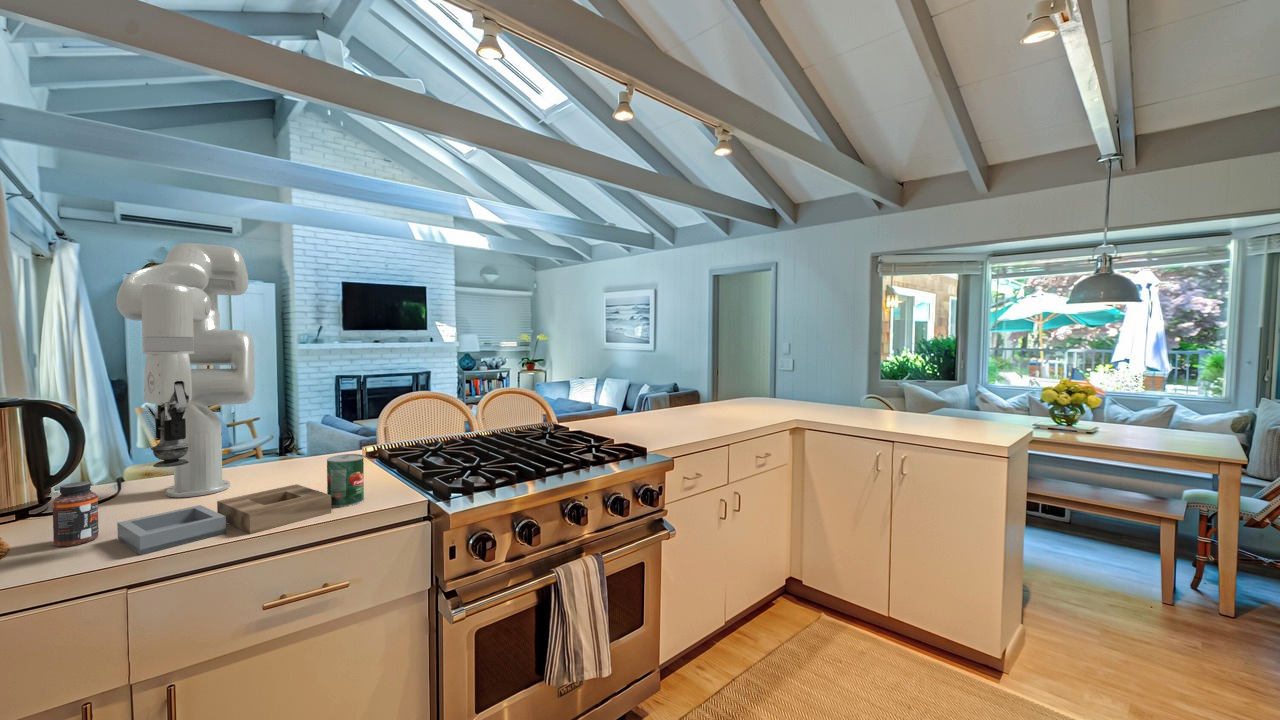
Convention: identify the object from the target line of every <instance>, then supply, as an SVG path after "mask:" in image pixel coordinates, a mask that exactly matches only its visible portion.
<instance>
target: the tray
mask: <svg viewBox="0 0 1280 720" xmlns="http://www.w3.org/2000/svg"><path fill="white" fill-rule="evenodd" d="M116 523H117V524H116V526H117V541H118V540H119V542H120V543H121V542H122V543H121V544H123V545H124V544H125V545H124V546H125V547H128V548H129V549H130V550H132V551H133V552H135V553H136V554H137V555H139V556H142V555H147V554H151V553H154V552H158V551H163V550H166V549H170V548H174V547H177V546H183V545H187V544H190V543H193V542H197V541H201V540H206V539H209V538H213V537H216V536H221V535H225V534H227V523H226V516H224V515H222V514H219V513H217V511H215V510H213V509H210V508H207V507H206V506H203V505H201V504H199V505H194V506H190V507H189V506H188V507H184V508H179V509H176V510H171V511H170V510H169V511H166V512H161V513H156V514H152V515H147V516H141V517H136V518H133V519H132V518H131V519H127V520H123V521H118V522H116Z"/></svg>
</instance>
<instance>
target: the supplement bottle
mask: <svg viewBox="0 0 1280 720" xmlns="http://www.w3.org/2000/svg"><path fill="white" fill-rule="evenodd" d="M91 489H92V488H91V482H89V481H77V482H76V481H75V482H69V483H65V484H61V485H60V486H59V493H60V495H59V496H57V497H55V498H54V499H53V501H52V529H53V530H52V532H53V533H52V534H53V536H52V537H53V544H54V545H55V546H56V547H69V546H78V545H82V544H87V543H89V542H92V541H93V540H95V539H97V538H98V537H99V501H98V499H99V497H98V496H99V495H98V494H97V493H96V492H93V491H92V490H91Z"/></svg>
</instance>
